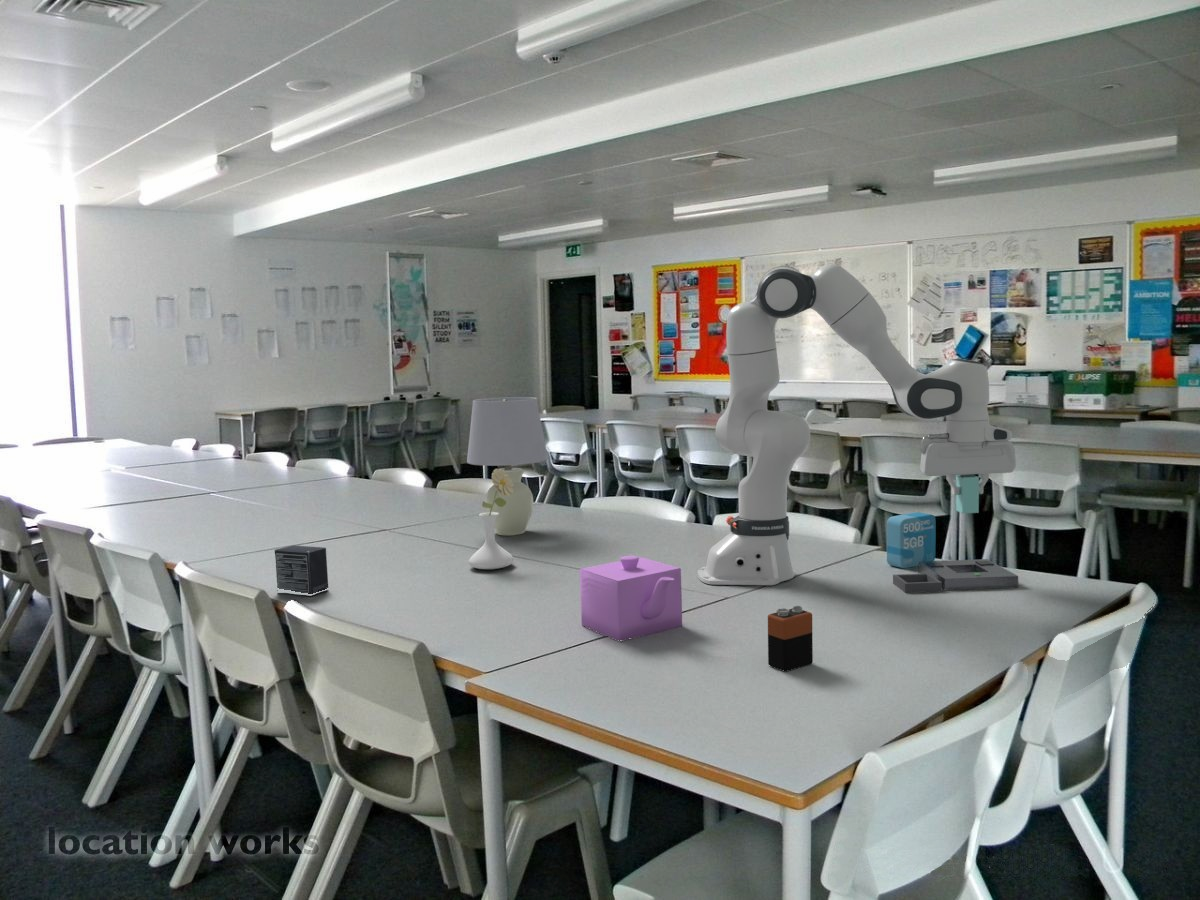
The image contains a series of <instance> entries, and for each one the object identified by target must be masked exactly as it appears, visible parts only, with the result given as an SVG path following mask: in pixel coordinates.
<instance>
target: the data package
mask: <svg viewBox="0 0 1200 900" xmlns="http://www.w3.org/2000/svg"><path fill="white" fill-rule="evenodd" d="M936 527H937V526H936V517H935V515H934V514H930V513H925V512H919V511H917V512H916V511H915V512H911V513H904V514H899V515H893V516H890V517H889V518H888V519H887V521H886V562H887V565H889V566H892V567H896V568H900V569H909V568H915V567H919V562H924V561H936V560H935V559H936Z"/></svg>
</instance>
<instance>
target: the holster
mask: <svg viewBox="0 0 1200 900" xmlns="http://www.w3.org/2000/svg"><path fill="white" fill-rule="evenodd" d="M892 584H893V585H894V586H895V587H897V588H898V589H899V590H900V591H902V592H904V593H905V594H907V593H909V594H911V593H933V592H934V593H939V592H943V588H942V582H941V581H939V580H938V579H936V578H935V577H933V576H932V575H930V574H929V573H924V574H921V573H903V574H900V573H899V574H892Z"/></svg>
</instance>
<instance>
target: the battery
mask: <svg viewBox="0 0 1200 900" xmlns="http://www.w3.org/2000/svg"><path fill="white" fill-rule="evenodd" d="M813 647H814V646H813V613H812V612H810V611H807V610H803V607H802V606H799V605H795V606H794V605H793V607H792V608H785V607H784V608H783V607H782V608H777V609H776V612H772V613H769V614H768V615H767V658H768V659H767V662H768V663H767V664H768V666H769V665H770V666H769V667H771V666H772V668H774V667H775V668H774V669H777V668H778V669H777V670H779V669H781V670H780V671H782V670H784V671H783V672H785V671H786V672H788V671H787V670H790V671H792V670H791V669H793V670H795V669H794V668H796V669H799V668H798V667H800V668H802V666H803V667H805V665H806V666H809V664H810V665H812V664H813V662H814V661H813V660H814V659H813V658H814V655H813V654H814V651H813Z"/></svg>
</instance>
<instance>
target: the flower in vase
mask: <svg viewBox="0 0 1200 900" xmlns="http://www.w3.org/2000/svg"><path fill="white" fill-rule="evenodd" d="M498 469H499V468H495V469H493V470H494V473H493V472H492V473H491V480H492V481H491V482H492V484H493V485H494V488H495V489H496V493H495V496H494V500H493V503H492V504H488V503H486V501H482V505H481V507H482V508H485V509H487V508H491V509H490V512H481V513H479V514H478V515H479V517H480V518H481V520H482V523H483V525H484V531H485V541H484V544H482V546H481V547H480V548H479V549H478V550H476V552H474V553H473V554H472V555H471V557H470V558H469V559H468V564H469V566H471V567H472V568H475V569H478V570H497V569H501V568H502V569H503V568H506V567H508V566H510V565H512V564H513V562H514V561H515V560H514V557H513V555H512V554H511V553H509V552H508V551H507V550H506V549H505V548H503V547H502V546H501V545H499V544H498V543H497V541H496V537H495V528H494V527H495V521H496V518H497V516H498V515H499V513H497V512H491V511H492V508H493V505H494V502H495V503H496V504H497V505H498V506H499V507H503V506H504V505H506V501H505V500H504V499H502V498H500V497H498V498H497V499H496V500H495V498H496V494H497V491H498V492H499V494H500V495H503V496H507V497H508V496H509V497H511V494H510V493H512V494H513V493H514V492H513V491H514V489H513V488H512V487H514V484H513V483H512V480H510V476H509V475H505V472H504V471H503V470H502V469H499V471H498Z"/></svg>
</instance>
